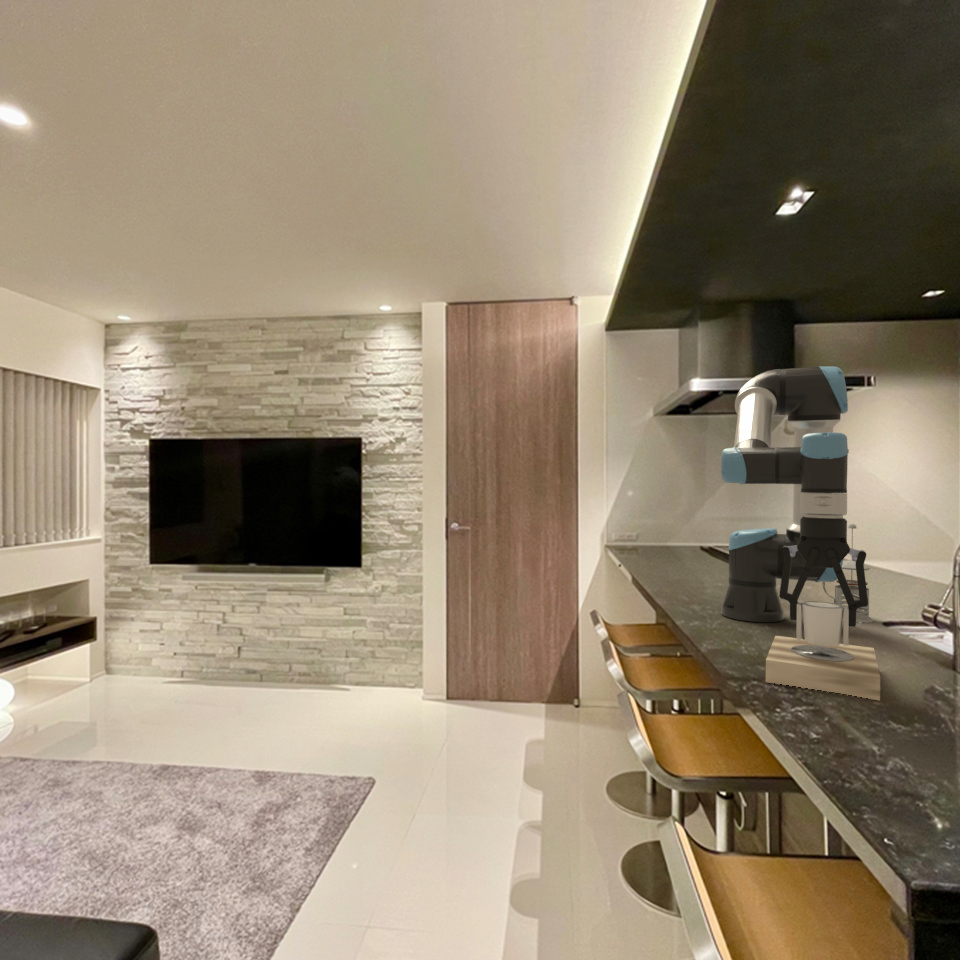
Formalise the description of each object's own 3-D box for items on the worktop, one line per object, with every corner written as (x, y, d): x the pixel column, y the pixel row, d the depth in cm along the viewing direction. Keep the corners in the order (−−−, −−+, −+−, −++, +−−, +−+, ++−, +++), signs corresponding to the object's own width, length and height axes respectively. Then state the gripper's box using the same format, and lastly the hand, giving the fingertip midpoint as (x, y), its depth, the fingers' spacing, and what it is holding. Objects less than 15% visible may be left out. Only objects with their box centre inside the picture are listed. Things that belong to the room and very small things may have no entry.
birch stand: (775, 655, 125) (775, 634, 125) (873, 668, 116) (873, 646, 116) (765, 682, 108) (765, 658, 108) (880, 700, 99) (880, 675, 99)
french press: (878, 624, 154) (879, 525, 154) (826, 620, 158) (827, 524, 158) (868, 616, 163) (869, 523, 163) (819, 612, 167) (820, 521, 167)
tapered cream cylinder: (849, 648, 108) (850, 609, 108) (807, 645, 109) (808, 606, 109) (835, 638, 115) (835, 601, 115) (795, 636, 116) (796, 599, 116)
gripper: (762, 515, 114) (761, 637, 114) (889, 519, 104) (887, 653, 104) (766, 513, 120) (765, 629, 120) (886, 517, 110) (884, 644, 110)
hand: (821, 640), depth 112 cm, fingers closed on tapered cream cylinder, 7 cm apart
